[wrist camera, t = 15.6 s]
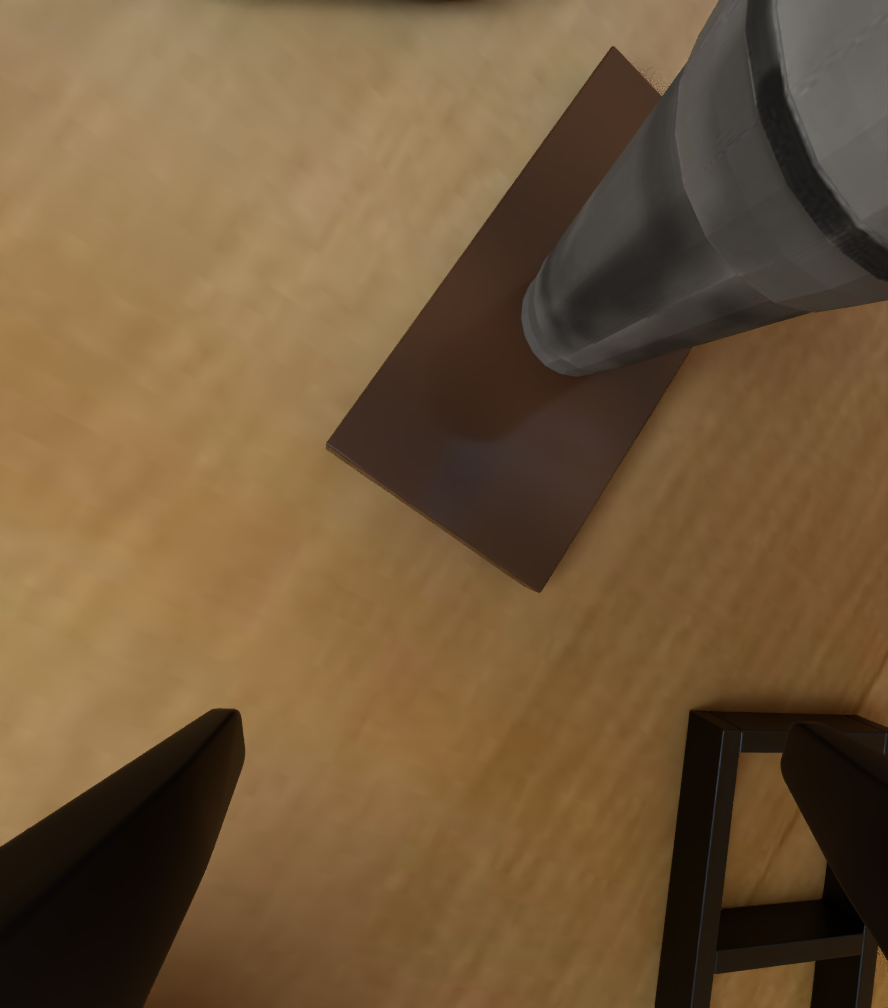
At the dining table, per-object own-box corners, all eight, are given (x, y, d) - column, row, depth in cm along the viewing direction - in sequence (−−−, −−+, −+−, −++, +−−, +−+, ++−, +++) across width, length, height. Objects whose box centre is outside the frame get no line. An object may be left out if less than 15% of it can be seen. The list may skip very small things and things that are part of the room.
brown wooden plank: (525, 587, 20) (540, 594, 19) (325, 448, 18) (325, 444, 17) (746, 232, 23) (775, 214, 21) (593, 75, 21) (613, 43, 19)
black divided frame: (637, 1143, 22) (668, 1206, 20) (689, 709, 22) (723, 729, 20) (813, 1103, 25) (855, 1155, 23) (857, 714, 25) (902, 733, 23)
